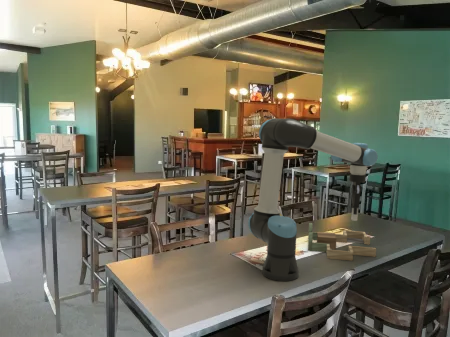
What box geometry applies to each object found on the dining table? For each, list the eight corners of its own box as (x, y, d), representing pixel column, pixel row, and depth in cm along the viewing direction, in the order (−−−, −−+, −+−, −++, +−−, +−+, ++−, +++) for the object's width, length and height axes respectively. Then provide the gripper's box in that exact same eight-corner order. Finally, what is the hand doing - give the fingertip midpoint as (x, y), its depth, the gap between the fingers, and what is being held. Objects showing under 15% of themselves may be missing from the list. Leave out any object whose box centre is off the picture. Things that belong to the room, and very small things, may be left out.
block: (335, 249, 181) (336, 238, 180) (317, 248, 183) (318, 236, 182) (334, 243, 190) (334, 232, 189) (316, 242, 191) (317, 231, 191)
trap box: (378, 263, 163) (380, 244, 162) (307, 256, 170) (308, 238, 169) (366, 239, 198) (367, 223, 197) (308, 234, 205) (309, 218, 204)
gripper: (367, 176, 171) (363, 224, 173) (363, 173, 183) (360, 217, 186) (351, 174, 172) (347, 222, 175) (348, 172, 185) (345, 216, 188)
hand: (354, 220), depth 181 cm, fingers closed
